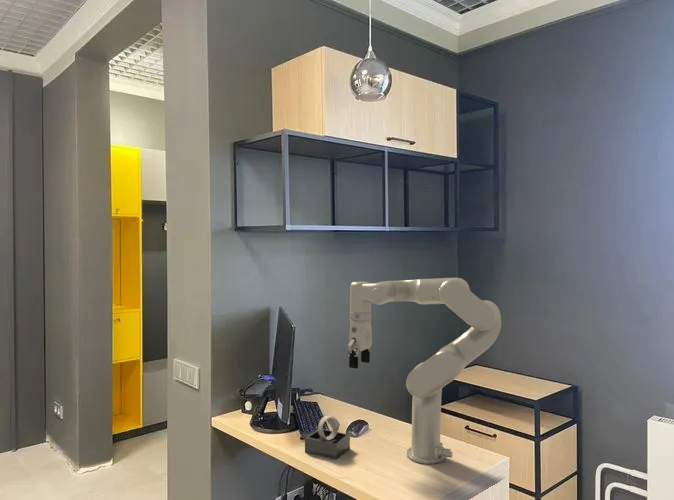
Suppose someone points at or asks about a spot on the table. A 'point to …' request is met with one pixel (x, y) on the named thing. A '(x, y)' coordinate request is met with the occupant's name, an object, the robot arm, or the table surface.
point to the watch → (333, 423)
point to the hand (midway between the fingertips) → (359, 365)
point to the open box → (327, 445)
